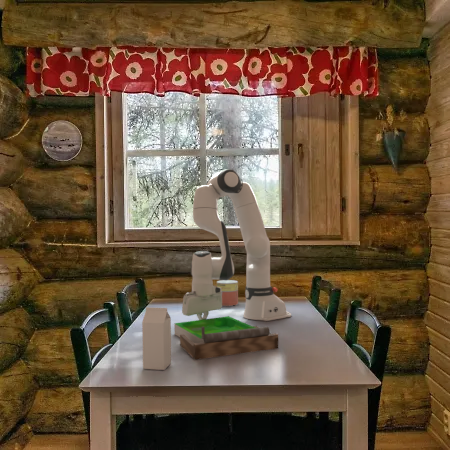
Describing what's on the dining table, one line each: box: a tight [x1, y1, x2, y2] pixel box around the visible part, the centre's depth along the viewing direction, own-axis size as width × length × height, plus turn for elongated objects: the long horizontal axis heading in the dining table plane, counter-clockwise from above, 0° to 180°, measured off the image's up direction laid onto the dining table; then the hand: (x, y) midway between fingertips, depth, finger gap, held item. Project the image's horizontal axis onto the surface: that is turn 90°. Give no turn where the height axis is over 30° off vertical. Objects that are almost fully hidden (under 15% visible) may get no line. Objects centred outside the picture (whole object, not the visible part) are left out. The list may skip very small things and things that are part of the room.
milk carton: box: [141, 306, 172, 371], centre depth 148 cm, size 7×7×19 cm
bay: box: [179, 325, 279, 361], centre depth 168 cm, size 32×18×10 cm, turn 112°
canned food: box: [216, 279, 239, 307], centre depth 245 cm, size 11×11×12 cm
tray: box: [173, 315, 255, 343], centre depth 182 cm, size 25×25×5 cm
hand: (202, 322), depth 194 cm, fingers closed
